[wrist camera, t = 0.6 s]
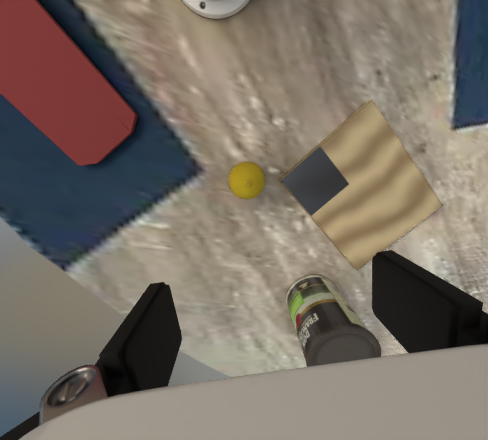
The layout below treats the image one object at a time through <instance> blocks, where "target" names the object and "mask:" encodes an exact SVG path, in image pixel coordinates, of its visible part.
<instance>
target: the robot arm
mask: <svg viewBox="0 0 488 440" xmlns="http://www.w3.org/2000/svg"><path fill="white" fill-rule="evenodd" d="M182 1H183V2H184V4H185V5H186V6H188V7H189V8H190V9H191V10H192V11H194V12H195V13H197V14H199V15H201V16H204V17H207V18H213V19H220V18H226V17H229V16H232V15H234V14H236V13H237V12H239V11H240V10H242V9H243V8H244V7H245V6H246V5H247V4H248V2H249V1H250V0H182ZM202 8H205V9H202ZM482 306H483V302H481V301H479V300H478V299H476V298H474V297H472V296H471V295H469V294H467V293H465V292H464V291H462V290H460V289H458V288H457V287H455V286H453V285H451V284H450V283H448V282H446V281H444V280H443V279H441V278H439V277H437V276H436V275H434V274H432V273H430V272H429V271H427V270H425V269H423V268H422V267H420V266H418V265H416V264H415V263H413V262H411V261H409V260H408V259H406V258H404V257H403V256H401V255H399V254H397V253H396V252H394V251H392V250H389V251H382V252H377V253H376V255H375V256H373V258H372V309H373V312H374V314H375V316H376V317H377V318H378V319H379V320H380V321H381V323H382V324H383V325H384V326H385V327H386V328H387V329H388V330H389V332H390V333H391V334H392V335H393V336H394V337H395V338H396V339H397V340H398V342H399V343H400V344H401V345H402V346H403V347H404V348H405V349H406V351H407V352H408V354H400V355H392V356H385V357H377V358H370V359H363V360H355V361H348V362H340V363H333V364H325V365H318V366H311V367H303V368H296V369H289V370H282V371H274V372H267V373H260V374H252V375H245V376H238V377H231V378H224V379H217V380H210V381H202V382H195V383H188V384H182V385H175V386H168V383H169V380H170V377H171V373H172V370H173V367H174V364H175V361H176V357H177V354H178V351H179V348H180V345H181V340H182V335H181V330H180V326H179V322H178V318H177V314H176V310H175V306H174V302H173V298H172V294H171V290H170V286H169V285H166V284H165V283H164V282H160V283H153V284H150V285H149V286H148V288H147V289H146V291H145V292H144V293H143V295H142V296H141V298H140V299H139V300H138V302H137V303H136V305H135V306H134V307H133V309H132V310H131V312H130V313H129V314H128V316H127V317H126V318H125V320H124V321H123V323H122V324H121V325H120V327H119V328H118V330H117V331H116V333H115V334H114V335H113V337H112V338H111V340H110V341H109V342H108V344H107V345H106V346H105V348H104V349H103V351H102V352H101V353H100V355H99V357H100V358H99V360H98V361H97V363H96V364H95V365H84V366H81V367H78V368H76V369H74V370H71V371H70V372H68V373H66V374H65V375H63V376H62V377H60V378H59V379H58V380H57V381H56V382H54V383H53V384H52V385H51V386H50V387H49V388H48V389H47V391H46V392H45V394H44V395H43V397H42V398H41V402H40V411H39V412H38V413H37V414H35V415H33V416H32V417H30V418H29V419H27V420H26V421H24V422H23V423H21V424H20V425H18V426H17V427H15V428H14V429H12V430H11V431H9V432H7V433H6V434H4V435H3V436H1V437H0V440H488V314H487V313H485V312H484V311H482Z"/></svg>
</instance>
